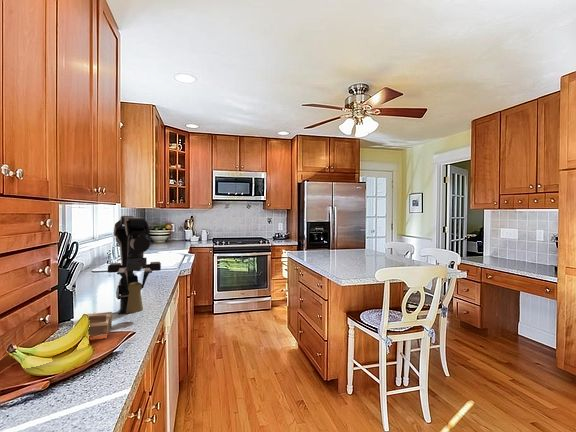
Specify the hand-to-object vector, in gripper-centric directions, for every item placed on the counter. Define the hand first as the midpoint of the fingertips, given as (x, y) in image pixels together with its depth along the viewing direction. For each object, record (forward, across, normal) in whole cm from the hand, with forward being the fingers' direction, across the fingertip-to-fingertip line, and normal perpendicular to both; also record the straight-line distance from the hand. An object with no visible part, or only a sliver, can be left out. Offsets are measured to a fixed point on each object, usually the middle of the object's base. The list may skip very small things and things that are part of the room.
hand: (135, 288), depth 126 cm
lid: (+8, -11, -10) cm, 17 cm away
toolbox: (+13, -11, -10) cm, 20 cm away
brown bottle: (+9, 0, 0) cm, 9 cm away
